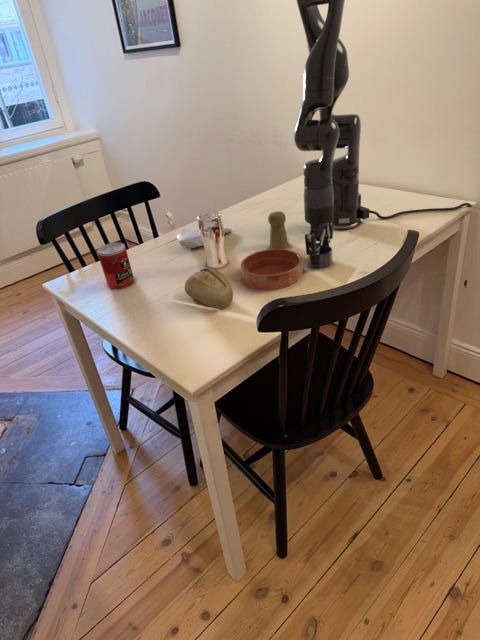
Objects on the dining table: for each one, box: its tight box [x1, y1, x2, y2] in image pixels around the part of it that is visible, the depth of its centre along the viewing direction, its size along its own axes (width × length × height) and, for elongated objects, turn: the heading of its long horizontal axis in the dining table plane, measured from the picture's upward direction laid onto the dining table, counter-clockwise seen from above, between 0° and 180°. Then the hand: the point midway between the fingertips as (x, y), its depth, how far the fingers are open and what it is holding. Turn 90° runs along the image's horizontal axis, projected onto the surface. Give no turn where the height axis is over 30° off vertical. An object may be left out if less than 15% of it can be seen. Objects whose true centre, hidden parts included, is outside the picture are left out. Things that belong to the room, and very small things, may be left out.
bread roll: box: [184, 267, 234, 310], centre depth 118 cm, size 10×15×8 cm, turn 46°
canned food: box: [97, 242, 135, 290], centre depth 132 cm, size 8×8×11 cm
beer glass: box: [197, 211, 228, 269], centre depth 134 cm, size 7×7×15 cm
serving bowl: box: [240, 248, 304, 291], centre depth 126 cm, size 16×16×5 cm
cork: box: [267, 210, 289, 249], centre depth 140 cm, size 6×6×11 cm
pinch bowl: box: [308, 245, 333, 269], centre depth 128 cm, size 6×6×5 cm
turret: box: [176, 227, 232, 249], centre depth 153 cm, size 10×20×5 cm, turn 136°
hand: (320, 261), depth 129 cm, fingers closed on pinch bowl, 6 cm apart
